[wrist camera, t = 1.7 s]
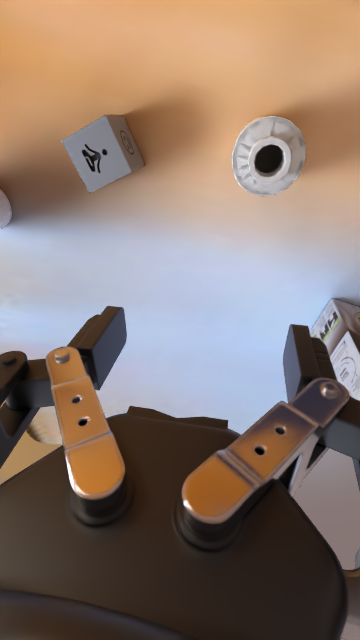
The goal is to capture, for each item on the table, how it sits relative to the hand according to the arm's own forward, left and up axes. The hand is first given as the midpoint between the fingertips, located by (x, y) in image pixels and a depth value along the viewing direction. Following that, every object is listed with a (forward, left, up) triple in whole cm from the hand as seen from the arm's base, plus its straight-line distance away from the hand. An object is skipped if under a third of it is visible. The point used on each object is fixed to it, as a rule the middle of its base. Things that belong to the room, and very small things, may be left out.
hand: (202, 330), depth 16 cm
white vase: (+2, +7, -24) cm, 25 cm away
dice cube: (-13, +2, -24) cm, 28 cm away
